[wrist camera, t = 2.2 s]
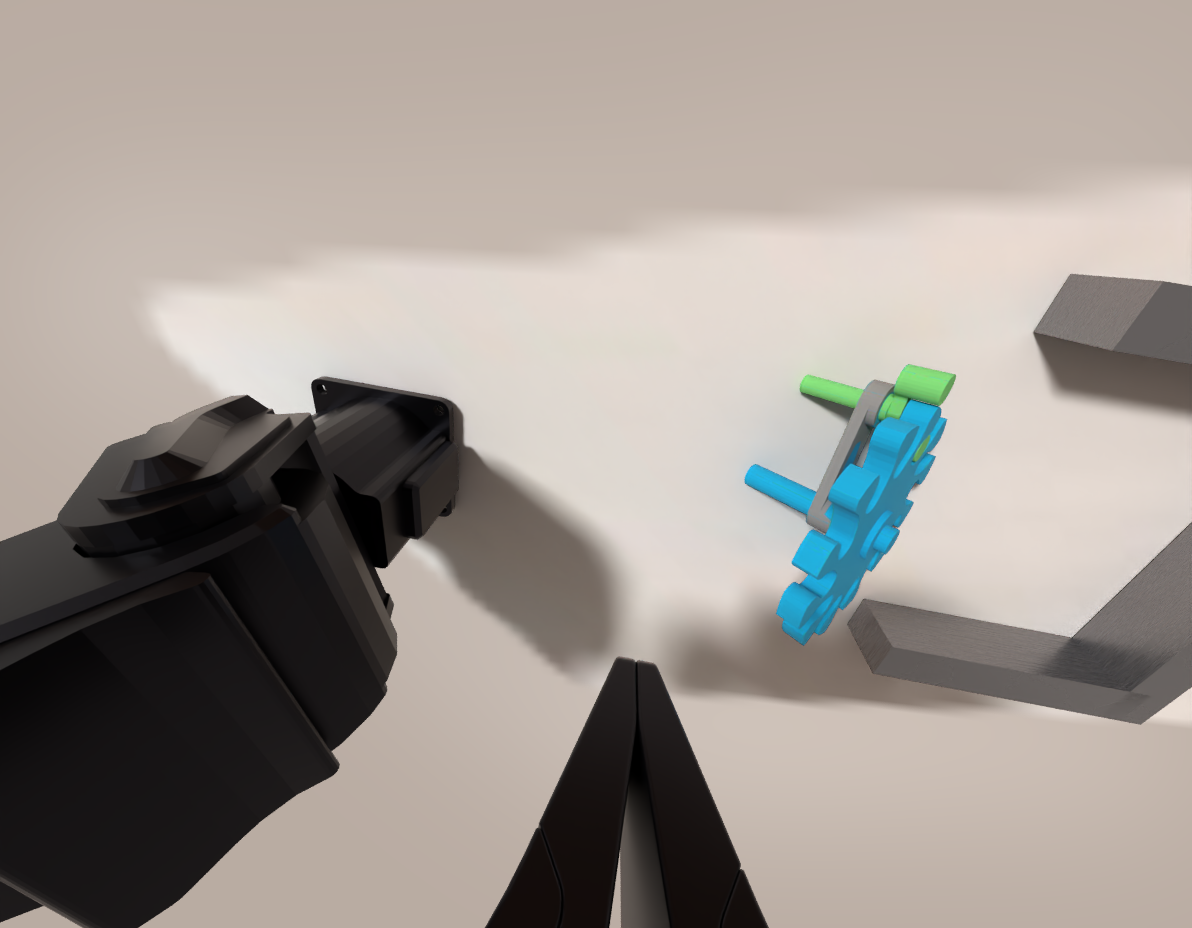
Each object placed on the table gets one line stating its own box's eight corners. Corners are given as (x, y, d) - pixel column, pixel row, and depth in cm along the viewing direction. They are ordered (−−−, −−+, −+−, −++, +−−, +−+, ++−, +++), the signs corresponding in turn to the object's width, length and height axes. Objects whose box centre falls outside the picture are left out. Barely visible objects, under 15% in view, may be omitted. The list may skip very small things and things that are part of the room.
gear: (873, 607, 20) (780, 701, 14) (764, 543, 24) (651, 592, 18) (998, 387, 17) (953, 370, 10) (845, 352, 20) (739, 323, 14)
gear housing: (847, 624, 23) (872, 673, 21) (1070, 274, 15) (1163, 281, 12) (1084, 669, 23) (1140, 724, 20) (1454, 337, 14) (1635, 359, 12)
